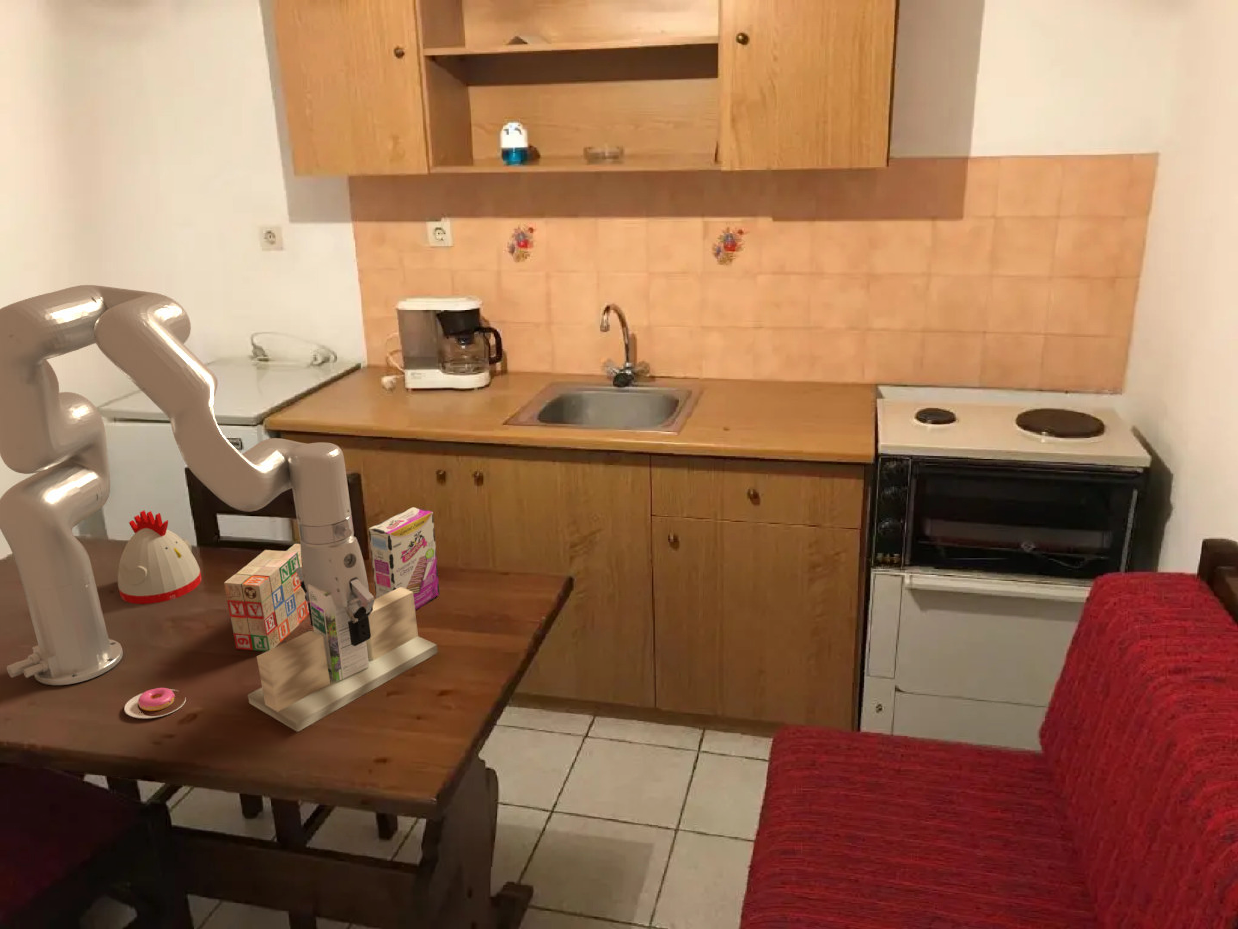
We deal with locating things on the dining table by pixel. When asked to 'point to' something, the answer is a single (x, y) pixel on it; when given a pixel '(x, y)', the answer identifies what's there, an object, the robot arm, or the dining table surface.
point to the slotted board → (348, 685)
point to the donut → (150, 702)
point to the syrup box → (336, 635)
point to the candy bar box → (406, 555)
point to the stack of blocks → (266, 599)
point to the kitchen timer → (156, 563)
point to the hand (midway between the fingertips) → (340, 632)
